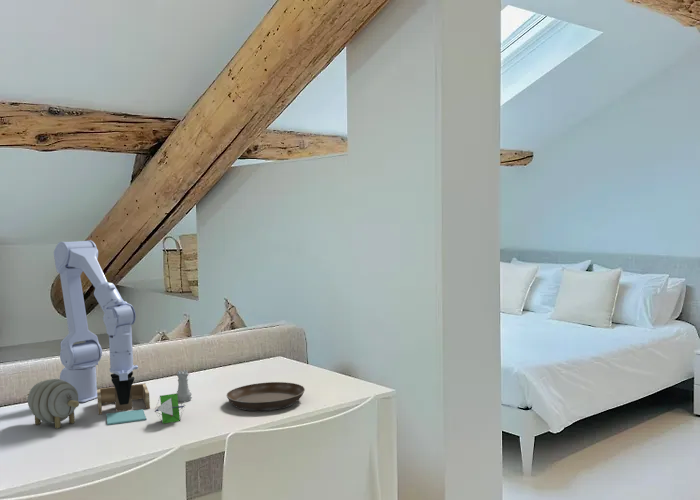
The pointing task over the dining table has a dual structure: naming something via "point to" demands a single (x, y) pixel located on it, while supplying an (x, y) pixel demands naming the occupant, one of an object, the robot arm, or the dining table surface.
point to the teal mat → (125, 417)
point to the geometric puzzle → (169, 408)
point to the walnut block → (125, 406)
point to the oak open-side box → (109, 395)
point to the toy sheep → (53, 401)
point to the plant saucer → (265, 396)
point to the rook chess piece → (183, 387)
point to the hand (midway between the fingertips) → (123, 402)
